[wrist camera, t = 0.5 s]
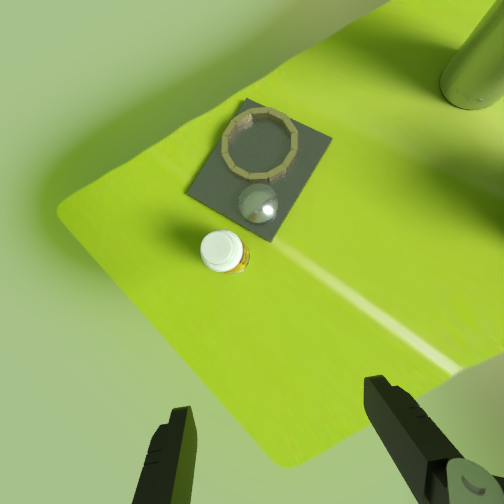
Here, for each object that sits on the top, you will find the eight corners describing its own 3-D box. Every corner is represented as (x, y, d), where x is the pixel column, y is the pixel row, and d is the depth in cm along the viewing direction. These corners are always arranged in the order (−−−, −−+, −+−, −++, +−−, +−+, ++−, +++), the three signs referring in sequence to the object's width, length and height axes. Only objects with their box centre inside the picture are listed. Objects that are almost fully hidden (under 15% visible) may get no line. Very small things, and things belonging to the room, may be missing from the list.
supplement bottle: (253, 271, 39) (242, 266, 28) (218, 277, 39) (196, 275, 29) (247, 236, 39) (235, 220, 29) (213, 243, 40) (190, 229, 30)
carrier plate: (247, 102, 42) (245, 90, 40) (331, 141, 40) (334, 132, 37) (188, 195, 42) (183, 189, 39) (270, 242, 39) (270, 239, 36)
